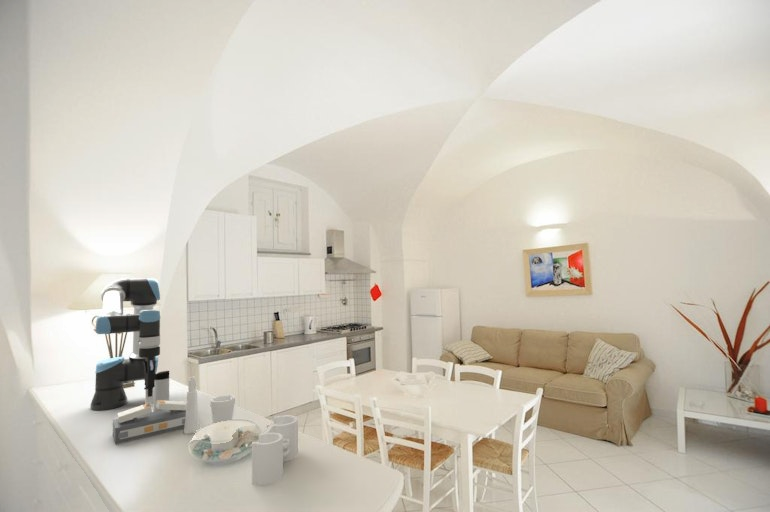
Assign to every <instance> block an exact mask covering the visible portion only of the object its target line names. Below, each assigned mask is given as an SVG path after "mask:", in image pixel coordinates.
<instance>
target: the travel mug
mask: <svg viewBox="0 0 770 512" xmlns="http://www.w3.org/2000/svg"><path fill="white" fill-rule="evenodd" d="M154 385H155V386H154V404H153V411H152V412H154V411H159V410H160V409H158V408H157V407H156V403H157V400H166V401H170V370H163V371H159V372H156V373H155V383H154Z"/></svg>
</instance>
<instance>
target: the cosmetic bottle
mask: <svg viewBox="0 0 770 512" xmlns="http://www.w3.org/2000/svg"><path fill="white" fill-rule="evenodd" d="M187 383H188V385H187V386H188V387H187V388H188V391H187V393H186V418H185V427H184V428H183V434H185V435H191V434H195V433H194V432H196V430H198V429H199V428H200V423H199V422H200V421H199V411H198V410H199V407H198V390H197V379H196V376H189V379H188V382H187ZM196 433H197V432H196Z"/></svg>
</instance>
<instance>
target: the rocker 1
mask: <svg viewBox="0 0 770 512" xmlns="http://www.w3.org/2000/svg"><path fill="white" fill-rule="evenodd" d="M151 412H153V411H152V406H151V404H149V405H146V404H141V405H139V406H134V407H132V408H128V409H126V410H123V411H120V412H117V419H118V420H119V423H122V422H125V421H127V420H130V419H133V418H136V417H139V416H142V415H145V414H148V413H151Z"/></svg>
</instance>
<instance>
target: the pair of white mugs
mask: <svg viewBox="0 0 770 512" xmlns="http://www.w3.org/2000/svg"><path fill="white" fill-rule="evenodd" d="M258 440H259V441H252V442H251V484H252V485H256V486H257V485H258V486H261V487H262V486H271V485H275V484H277V483H278V482H281V480H282V479H283V477H284V463H285V462H288V461H289V462H290V461H291V460H293V459H295V458H296V457H298V456H299V419H298V416H295V415H291V414H286V415H285V414H283V415H274V416H273V423H267V424H266V429H264V431H263V432H262V433H259V434H258Z"/></svg>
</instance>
